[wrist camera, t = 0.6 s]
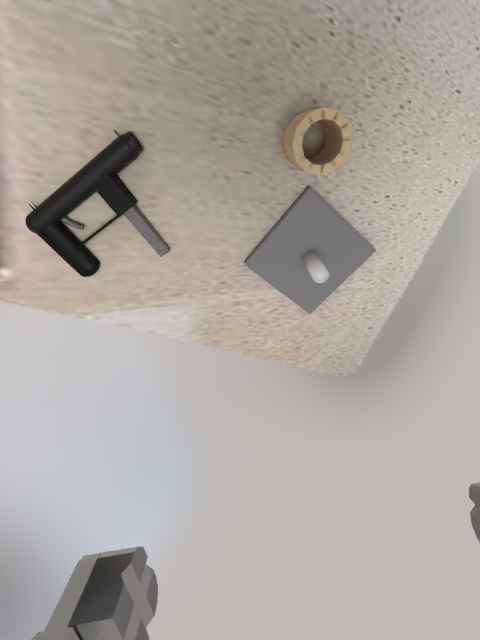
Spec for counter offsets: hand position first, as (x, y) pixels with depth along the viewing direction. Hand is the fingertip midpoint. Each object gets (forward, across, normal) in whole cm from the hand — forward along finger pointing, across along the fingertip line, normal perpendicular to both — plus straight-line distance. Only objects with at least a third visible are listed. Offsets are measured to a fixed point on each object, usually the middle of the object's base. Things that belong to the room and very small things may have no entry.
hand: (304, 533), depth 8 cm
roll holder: (+45, -9, -1) cm, 46 cm away
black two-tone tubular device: (+44, +18, -13) cm, 49 cm away
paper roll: (+41, -11, -16) cm, 46 cm away
